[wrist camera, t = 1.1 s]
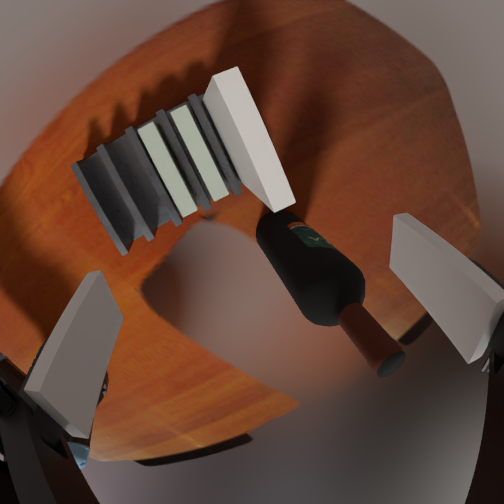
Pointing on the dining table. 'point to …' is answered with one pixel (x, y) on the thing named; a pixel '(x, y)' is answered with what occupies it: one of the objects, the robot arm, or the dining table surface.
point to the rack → (148, 178)
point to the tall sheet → (246, 139)
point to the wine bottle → (326, 286)
